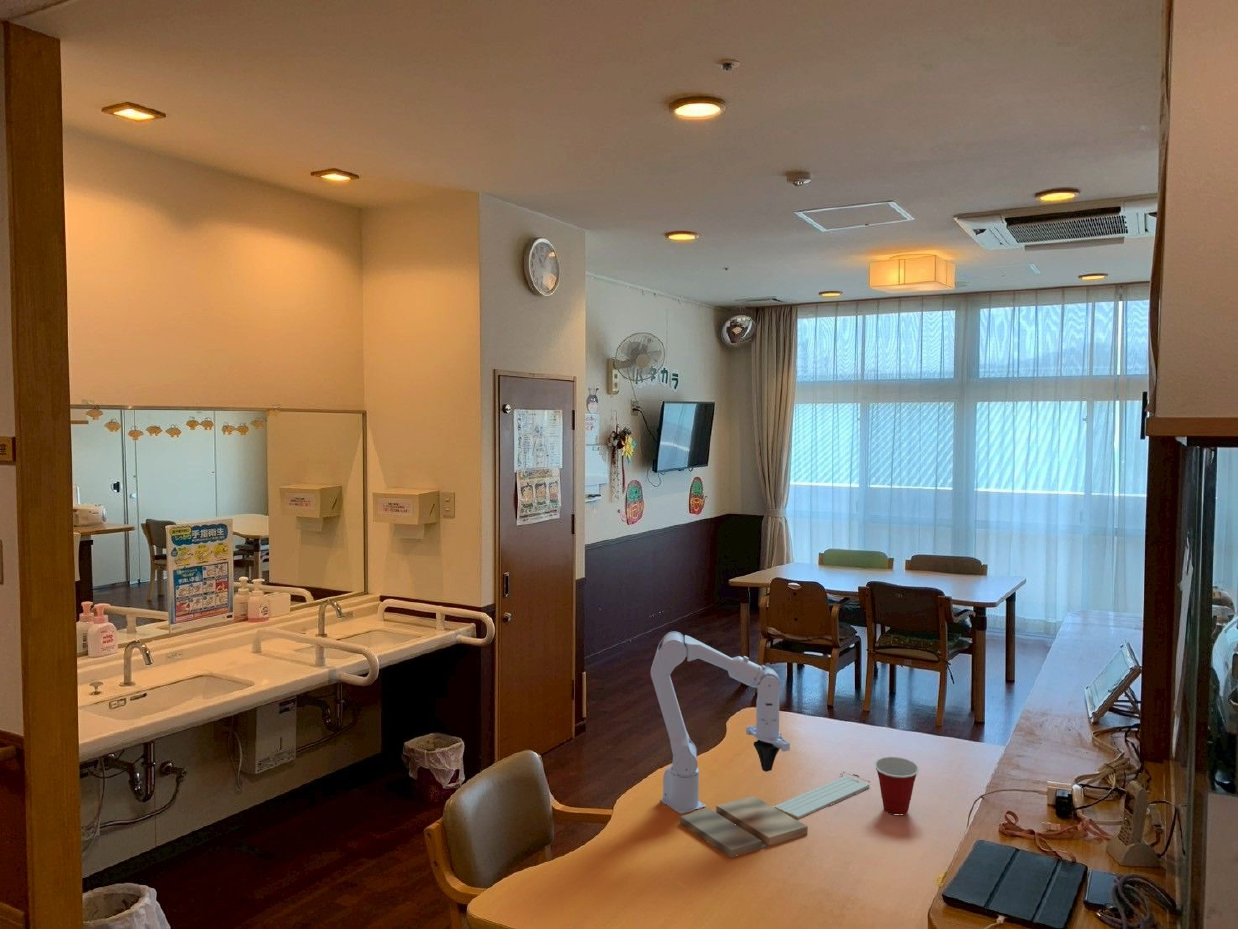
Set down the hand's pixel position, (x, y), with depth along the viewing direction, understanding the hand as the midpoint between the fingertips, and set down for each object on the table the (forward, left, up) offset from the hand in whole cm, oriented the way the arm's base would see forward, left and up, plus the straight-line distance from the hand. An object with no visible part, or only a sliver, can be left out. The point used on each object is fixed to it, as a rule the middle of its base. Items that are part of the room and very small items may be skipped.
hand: (766, 770), depth 229 cm
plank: (+6, -7, -10) cm, 13 cm away
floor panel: (+6, -20, -10) cm, 23 cm away
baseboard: (+2, +16, -11) cm, 20 cm away
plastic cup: (+18, +27, -10) cm, 34 cm away
